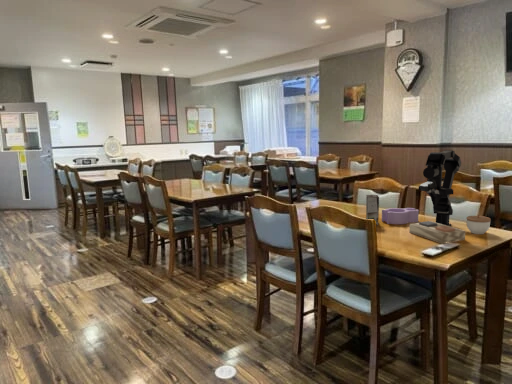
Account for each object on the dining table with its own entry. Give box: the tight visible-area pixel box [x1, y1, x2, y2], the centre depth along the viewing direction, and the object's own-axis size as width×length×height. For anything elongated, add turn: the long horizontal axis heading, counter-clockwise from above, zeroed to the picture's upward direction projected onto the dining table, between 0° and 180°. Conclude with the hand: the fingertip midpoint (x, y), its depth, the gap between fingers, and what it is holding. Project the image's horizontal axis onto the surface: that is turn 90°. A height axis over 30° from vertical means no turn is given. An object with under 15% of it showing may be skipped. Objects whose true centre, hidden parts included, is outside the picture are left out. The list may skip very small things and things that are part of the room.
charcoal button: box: [418, 220, 437, 227], centre depth 199 cm, size 6×6×4 cm
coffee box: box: [365, 194, 380, 226], centre depth 223 cm, size 9×6×16 cm
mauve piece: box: [381, 207, 420, 225], centre depth 226 cm, size 20×12×7 cm, turn 98°
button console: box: [408, 220, 466, 244], centre depth 194 cm, size 14×22×4 cm, turn 19°
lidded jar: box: [465, 214, 492, 235], centre depth 197 cm, size 11×11×9 cm
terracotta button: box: [436, 225, 456, 232], centre depth 189 cm, size 6×6×4 cm
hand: (434, 205), depth 204 cm, fingers closed
